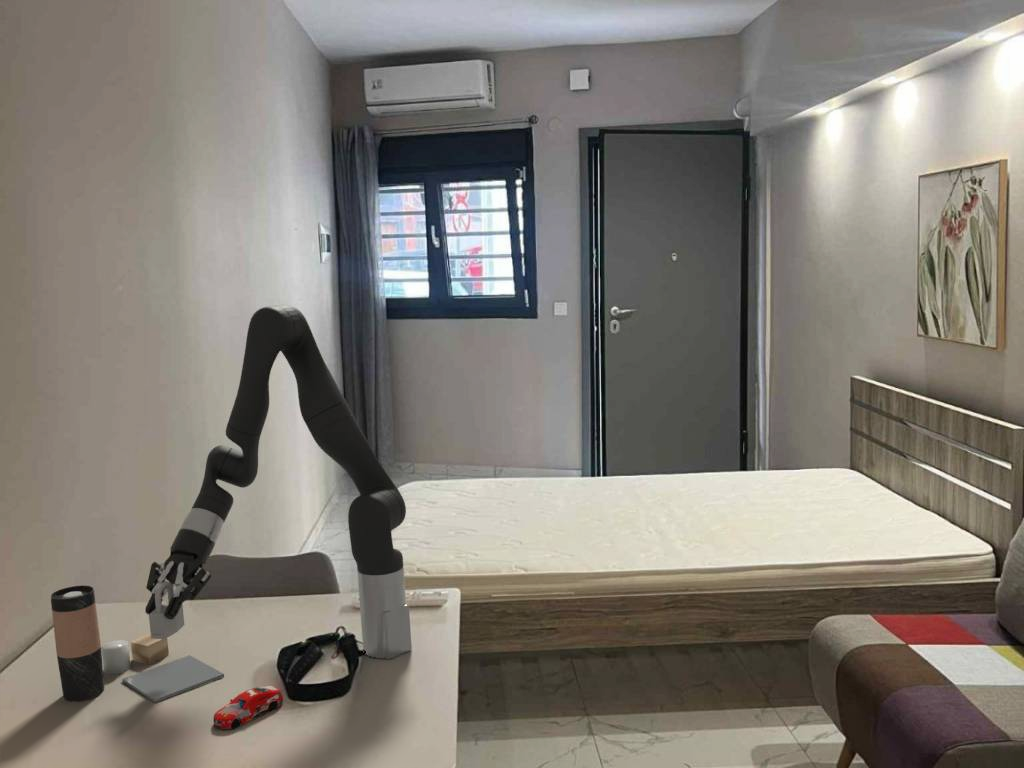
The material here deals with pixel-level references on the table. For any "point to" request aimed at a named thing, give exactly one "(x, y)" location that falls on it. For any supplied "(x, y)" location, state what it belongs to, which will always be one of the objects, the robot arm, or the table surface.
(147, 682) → the mat
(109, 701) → the table surface
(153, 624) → the padlock
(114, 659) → the white rounded capsule
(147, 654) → the oak block
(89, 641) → the travel mug
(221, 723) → the race car
